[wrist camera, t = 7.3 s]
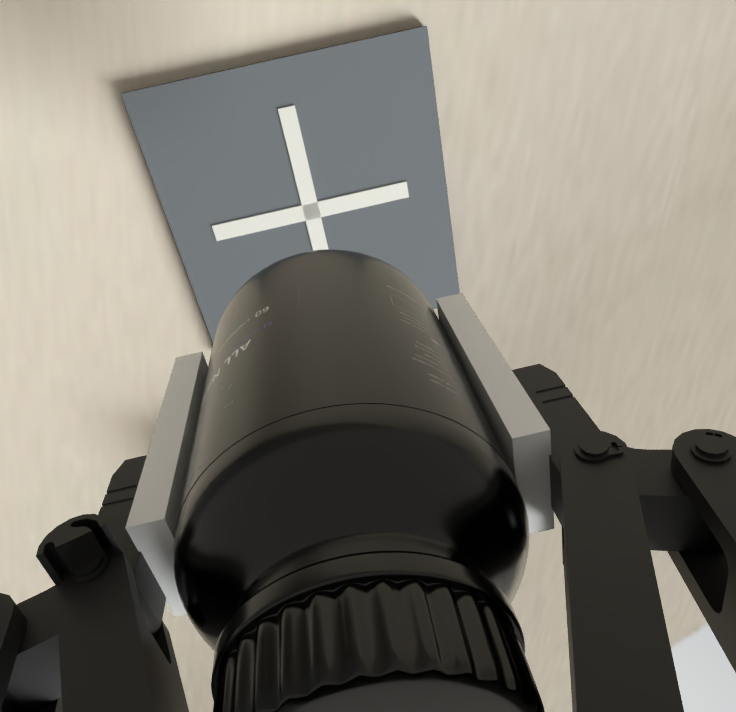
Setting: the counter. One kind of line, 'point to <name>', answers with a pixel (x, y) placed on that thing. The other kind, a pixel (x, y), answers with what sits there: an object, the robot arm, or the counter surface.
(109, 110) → the counter surface
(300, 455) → the supplement bottle
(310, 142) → the rest mat
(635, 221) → the counter surface
